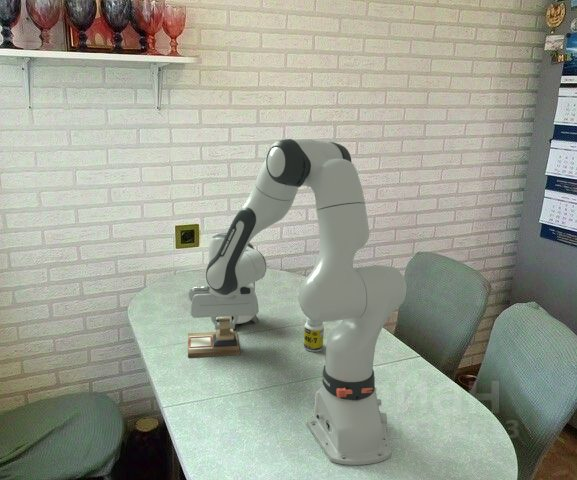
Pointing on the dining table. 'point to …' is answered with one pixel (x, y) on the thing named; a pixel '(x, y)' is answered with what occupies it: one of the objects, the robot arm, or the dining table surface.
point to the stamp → (224, 330)
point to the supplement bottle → (313, 335)
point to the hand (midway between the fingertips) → (224, 328)
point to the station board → (211, 345)
